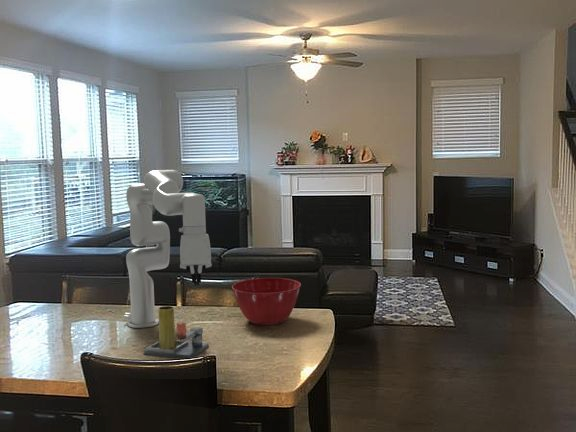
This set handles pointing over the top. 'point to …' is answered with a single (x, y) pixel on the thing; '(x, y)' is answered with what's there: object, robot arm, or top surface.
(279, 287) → the mixing bowl
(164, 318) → the vase
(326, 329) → the top surface
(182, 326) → the lever
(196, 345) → the bed
